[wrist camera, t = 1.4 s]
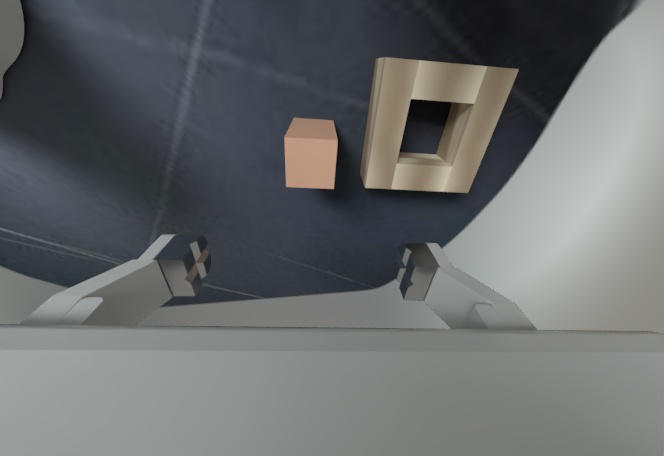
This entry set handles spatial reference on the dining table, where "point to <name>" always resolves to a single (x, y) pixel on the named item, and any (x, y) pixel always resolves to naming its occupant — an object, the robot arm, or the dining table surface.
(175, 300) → the dining table surface
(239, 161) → the dining table surface
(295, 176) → the peg
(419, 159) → the socket block
